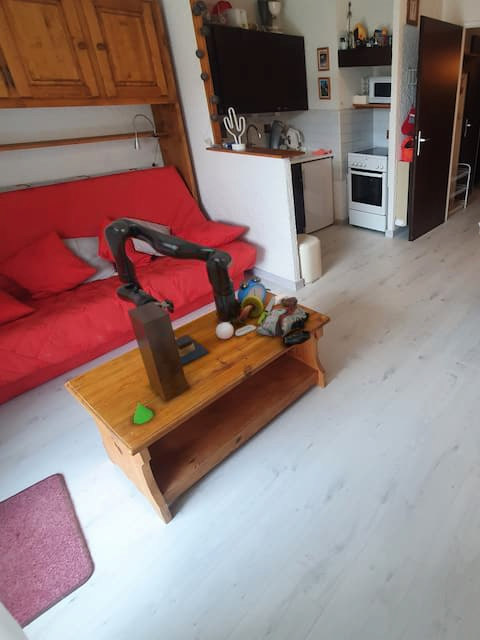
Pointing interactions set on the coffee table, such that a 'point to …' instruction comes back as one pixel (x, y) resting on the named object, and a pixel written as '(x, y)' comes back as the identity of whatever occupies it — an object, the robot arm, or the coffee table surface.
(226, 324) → the white egg
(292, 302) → the stone
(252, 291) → the alarm clock
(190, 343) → the brush
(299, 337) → the toy car
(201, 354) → the mat
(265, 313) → the kitchen knife
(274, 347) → the coffee table surface
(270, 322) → the stone
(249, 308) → the mushroom
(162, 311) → the tall dark wooden block
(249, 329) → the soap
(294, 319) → the athletic shoe
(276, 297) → the toy vehicle
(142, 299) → the robot arm
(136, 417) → the gemstone
